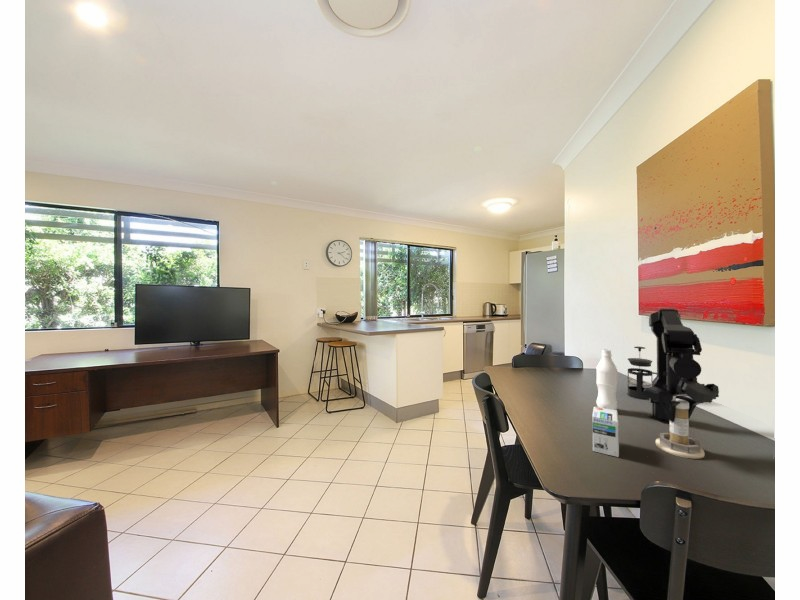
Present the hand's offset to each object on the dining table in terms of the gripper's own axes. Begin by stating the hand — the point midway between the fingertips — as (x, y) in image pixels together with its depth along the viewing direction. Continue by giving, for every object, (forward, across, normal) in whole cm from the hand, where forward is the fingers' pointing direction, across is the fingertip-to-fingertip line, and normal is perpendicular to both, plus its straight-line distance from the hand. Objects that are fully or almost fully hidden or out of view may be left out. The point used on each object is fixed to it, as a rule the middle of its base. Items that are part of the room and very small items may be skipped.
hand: (678, 420), depth 93 cm
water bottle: (+9, +2, +31) cm, 32 cm away
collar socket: (+9, 0, 0) cm, 9 cm away
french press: (+9, +30, +44) cm, 54 cm away
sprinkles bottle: (+7, 0, 0) cm, 7 cm away
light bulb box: (+9, -21, +4) cm, 23 cm away
